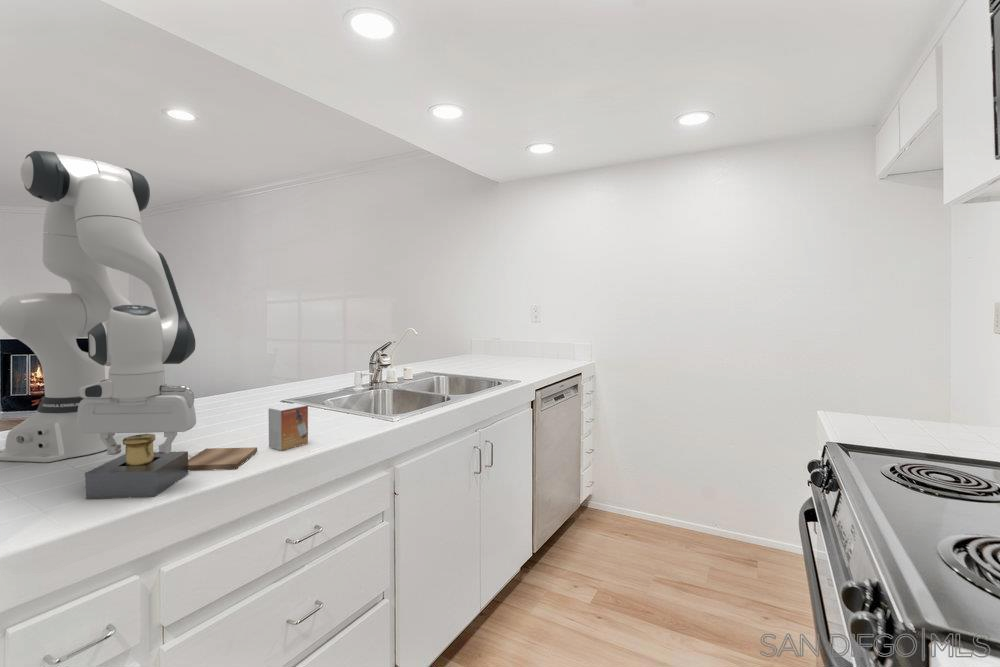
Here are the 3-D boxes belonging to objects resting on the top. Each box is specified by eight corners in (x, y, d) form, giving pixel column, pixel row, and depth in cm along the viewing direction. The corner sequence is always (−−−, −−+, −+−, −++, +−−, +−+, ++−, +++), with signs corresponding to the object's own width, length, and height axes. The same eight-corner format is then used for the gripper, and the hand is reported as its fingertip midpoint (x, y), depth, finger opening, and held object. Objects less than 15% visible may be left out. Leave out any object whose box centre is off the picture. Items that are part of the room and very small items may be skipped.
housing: (85, 499, 87) (84, 473, 86) (128, 475, 99) (127, 452, 98) (154, 496, 88) (154, 471, 88) (188, 473, 100) (187, 451, 100)
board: (178, 470, 102) (178, 465, 102) (206, 453, 114) (205, 448, 114) (236, 469, 103) (236, 464, 103) (257, 452, 115) (257, 447, 115)
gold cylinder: (118, 491, 91) (116, 441, 90) (135, 481, 96) (133, 434, 95) (146, 490, 91) (145, 441, 91) (162, 480, 96) (161, 433, 96)
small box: (281, 451, 116) (280, 410, 115) (268, 447, 119) (267, 407, 118) (308, 443, 123) (308, 405, 122) (296, 440, 126) (295, 402, 125)
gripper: (201, 383, 97) (202, 447, 97) (94, 383, 94) (96, 449, 95) (184, 388, 90) (186, 457, 91) (69, 389, 88) (72, 460, 89)
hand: (140, 453), depth 93 cm, fingers open, 8 cm apart
